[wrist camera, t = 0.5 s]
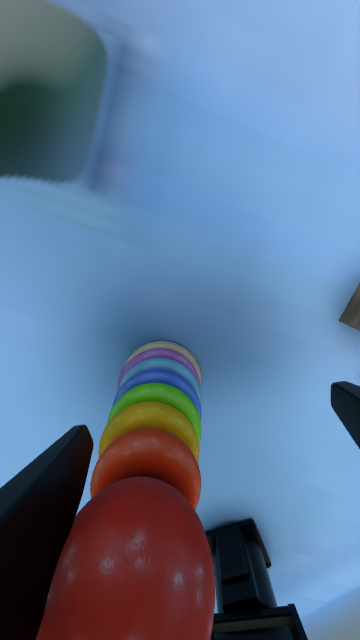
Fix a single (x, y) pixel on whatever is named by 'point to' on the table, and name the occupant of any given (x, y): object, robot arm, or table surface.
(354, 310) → the walnut pillar
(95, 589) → the stacking toy
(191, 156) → the table surface
